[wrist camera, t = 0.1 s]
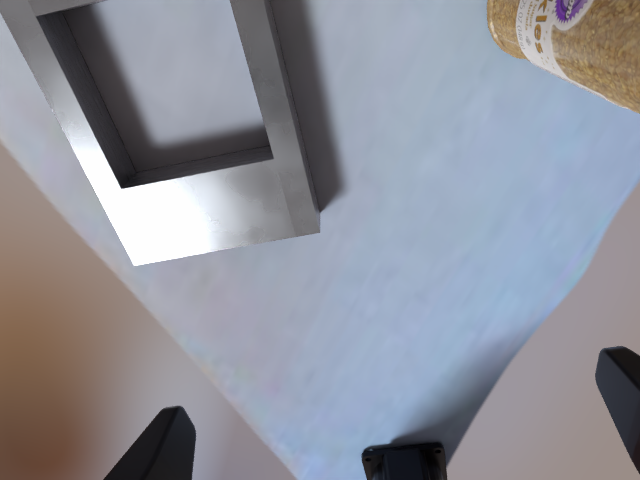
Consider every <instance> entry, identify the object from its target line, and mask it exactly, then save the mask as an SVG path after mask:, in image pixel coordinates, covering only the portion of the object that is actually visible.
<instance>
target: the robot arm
mask: <svg viewBox="0 0 640 480" xmlns="http://www.w3.org/2000/svg"><path fill="white" fill-rule="evenodd" d="M595 377H596V383H597V386H598V388H599V391H600V393H601V395H602V397H603V399H604V402H605V404H606V406H607V408H608V410H609V413H610V414H611V417H612V419H613V421H614V423H615V426H616V428H617V430H618V432H619V434H620V437H621V439H622V441H623V443H624V445H625V447H626V449H627V452H628V453H629V455H630V458H631V460H632V462H633V463H634V465H635V467H636V469H637V470H638V472H639V474H640V356H639V355H638V354H636V353H635V352H633V351H631V350H630V349H628V348H626V347H623V346H617V347H610V348H604V349H602V350H601V351H600V354H599V359H598V363H597V368H596V373H595ZM195 441H196V430H195V427H194V425H193V423H192V422H191V420H190V418H189V416H188V415H187V413H186V411H185V409H184V408H183V407H181V406H173V407H166V408H164V409H162V410H161V411H160V412H159V413H158V415H157V416H156V417H155V418H154V419H153V421H152V422H151V423H150V424H149V425H148V427H147V428H146V429H145V430H144V431H143V433H142V434H141V435H140V436H139V437H138V439H137V440H136V441H135V442H134V443H133V445H132V446H131V447H130V448H129V449H128V451H127V452H126V453H125V454H124V455H123V457H122V458H121V459H120V460H119V461H118V463H117V464H116V465H115V466H114V467H113V469H112V470H111V471H110V472H109V473H108V475H107V476H106V477H105V478H104V479H103V480H192V472H193V462H194V451H195ZM361 456H362V463H363V466H364V470H365V474H366V477H367V480H447V472H446V462H445V452H444V447H443V445H442V444H441V443H433V444H424V445H416V446H407V447H399V448H391V449H382V450H374V451H366V452H363V453H362V455H361Z"/></svg>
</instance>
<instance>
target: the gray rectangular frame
mask: <svg viewBox="0 0 640 480" xmlns="http://www.w3.org/2000/svg"><path fill="white" fill-rule="evenodd" d="M102 1H106V0H0V13H1V15H2V16H3V18H4V20H5V22H6V24H7V26H8V28H9V30H10V32H11V33H12V35H13V37H14V39H15V41H16V43H17V45H18V47H19V49H20V50H21V52H22V54H23V56H24V58H25V60H26V62H27V64H28V65H29V67H30V69H31V71H32V73H33V75H34V77H35V79H36V81H37V82H38V84H39V86H40V88H41V90H42V92H43V94H44V96H45V98H46V99H47V101H48V103H49V105H50V107H51V109H52V111H53V113H54V115H55V116H56V118H57V120H58V122H59V124H60V126H61V128H62V130H63V131H64V133H65V135H66V137H67V139H68V141H69V143H70V145H71V147H72V148H73V150H74V152H75V154H76V156H77V158H78V160H79V162H80V164H81V165H82V167H83V169H84V171H85V173H86V175H87V177H88V179H89V180H90V182H91V184H92V186H93V188H94V190H95V192H96V194H97V196H98V197H99V199H100V201H101V203H102V205H103V207H104V209H105V211H106V213H107V214H108V216H109V218H110V220H111V222H112V224H113V226H114V228H115V230H116V231H117V233H118V235H119V237H120V239H121V241H122V243H123V245H124V246H125V248H126V250H127V252H128V254H129V256H130V258H131V260H132V262H133V263H134V265H140V264H146V263H151V262H157V261H162V260H168V259H174V258H179V257H185V256H191V255H196V254H202V253H208V252H213V251H219V250H225V249H230V248H236V247H242V246H247V245H253V244H258V243H264V242H270V241H275V240H281V239H287V238H292V237H298V236H304V235H309V234H315V233H320V210H319V206H318V202H317V198H316V194H315V189H314V185H313V181H312V177H311V172H310V168H309V164H308V160H307V156H306V151H305V147H304V143H303V139H302V134H301V130H300V126H299V122H298V118H297V113H296V109H295V105H294V101H293V97H292V92H291V88H290V84H289V80H288V75H287V71H286V67H285V63H284V59H283V54H282V50H281V46H280V42H279V37H278V33H277V29H276V25H275V21H274V16H273V12H272V8H271V4H270V0H230V3H231V6H232V10H233V14H234V17H235V21H236V24H237V28H238V32H239V35H240V39H241V42H242V46H243V49H244V53H245V57H246V60H247V64H248V67H249V71H250V74H251V78H252V82H253V85H254V89H255V92H256V96H257V99H258V103H259V107H260V110H261V114H262V117H263V121H264V125H265V128H266V132H267V135H268V139H269V142H270V146H265V147H260V148H255V149H250V150H245V151H240V152H235V153H230V154H225V155H220V156H215V157H210V158H205V159H200V160H196V161H191V162H186V163H181V164H176V165H171V166H166V167H161V168H156V169H151V170H146V171H141V172H136V171H135V169H134V167H133V165H132V162H131V160H130V158H129V156H128V154H127V152H126V149H125V147H124V145H123V143H122V141H121V139H120V137H119V134H118V132H117V130H116V128H115V126H114V124H113V121H112V119H111V117H110V115H109V113H108V111H107V109H106V106H105V104H104V102H103V100H102V98H101V96H100V93H99V91H98V89H97V87H96V85H95V83H94V81H93V78H92V76H91V74H90V72H89V70H88V68H87V65H86V63H85V61H84V59H83V57H82V55H81V52H80V50H79V48H78V46H77V44H76V42H75V40H74V37H73V35H72V33H71V31H70V29H69V27H68V24H67V22H66V20H65V18H64V16H63V14H62V11H66V10H70V9H74V8H78V7H82V6H86V5H90V4H94V3H98V2H102Z"/></svg>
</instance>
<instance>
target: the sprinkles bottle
mask: <svg viewBox="0 0 640 480" xmlns="http://www.w3.org/2000/svg"><path fill="white" fill-rule="evenodd" d="M487 20H488V28H489V30H490V33H491V35H492V38H493V39H494V41H495V42H496V43H497V45H498V46H499V47H500V48H501V49H502V50H503V51H504V52H506V53H508V54H510V55H512V56H513V57H516V58H520V59H527V60H528V61H530V62H531V63H533V64H534V65H536V66H537V67H539V68H541V69H543V70H545V71H547V72H549V73H551V74H553V75H555V76H557V77H559V78H561V79H563V80H565V81H567V82H569V83H571V84H573V85H576V86H578V87H580V88H582V89H584V90H586V91H588V92H590V93H592V94H594V95H597V96H599V97H601V98H603V99H605V100H607V101H609V102H611V103H613V104H615V105H618V106H620V107H623V108H627V109H630V110H632V111H634V112H637V113H639V114H640V0H488V2H487Z"/></svg>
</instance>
